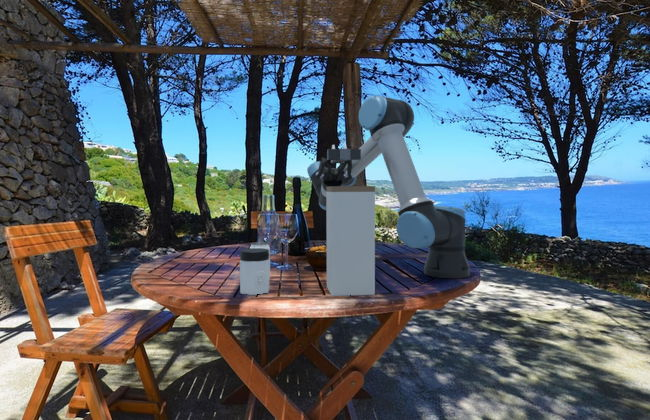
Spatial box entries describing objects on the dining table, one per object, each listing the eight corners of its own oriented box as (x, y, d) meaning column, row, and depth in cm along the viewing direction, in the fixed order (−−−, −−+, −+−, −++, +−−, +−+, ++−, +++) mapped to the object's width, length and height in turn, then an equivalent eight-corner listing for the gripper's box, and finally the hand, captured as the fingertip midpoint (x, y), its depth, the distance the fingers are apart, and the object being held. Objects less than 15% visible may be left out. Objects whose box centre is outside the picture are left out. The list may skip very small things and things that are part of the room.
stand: (326, 286, 130) (326, 186, 128) (365, 285, 131) (365, 186, 130) (331, 296, 118) (331, 186, 117) (374, 294, 119) (375, 186, 118)
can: (274, 279, 140) (273, 242, 140) (261, 283, 135) (260, 244, 134) (259, 277, 144) (258, 241, 143) (245, 280, 138) (245, 243, 138)
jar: (246, 297, 117) (245, 253, 117) (234, 291, 124) (234, 249, 124) (275, 292, 122) (275, 250, 122) (263, 287, 129) (262, 247, 129)
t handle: (321, 163, 150) (321, 154, 150) (350, 163, 151) (350, 154, 151) (328, 159, 130) (328, 148, 130) (361, 159, 131) (361, 148, 131)
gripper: (353, 193, 162) (365, 157, 141) (310, 193, 160) (315, 157, 139) (352, 176, 165) (362, 139, 144) (309, 176, 163) (314, 138, 143)
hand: (339, 148), depth 142 cm, fingers closed on t handle, 3 cm apart
